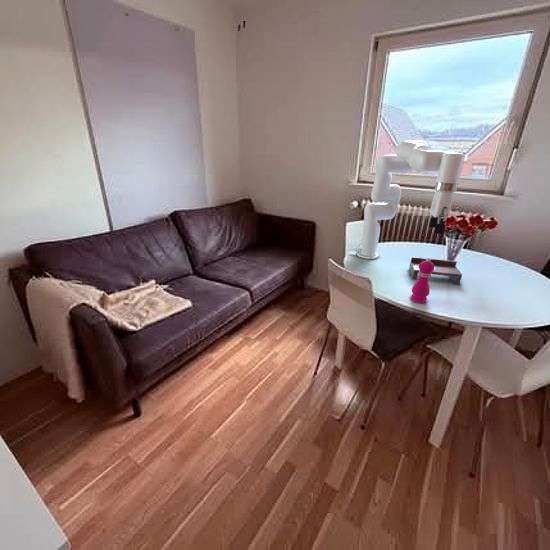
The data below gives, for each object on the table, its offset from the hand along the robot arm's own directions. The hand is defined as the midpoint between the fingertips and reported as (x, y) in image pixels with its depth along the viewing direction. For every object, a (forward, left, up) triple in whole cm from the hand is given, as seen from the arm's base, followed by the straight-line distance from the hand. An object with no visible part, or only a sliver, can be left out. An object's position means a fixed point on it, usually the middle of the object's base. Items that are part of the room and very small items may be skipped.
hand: (435, 230), depth 126 cm
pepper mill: (0, -1, -32) cm, 32 cm away
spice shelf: (+12, +27, -32) cm, 43 cm away
